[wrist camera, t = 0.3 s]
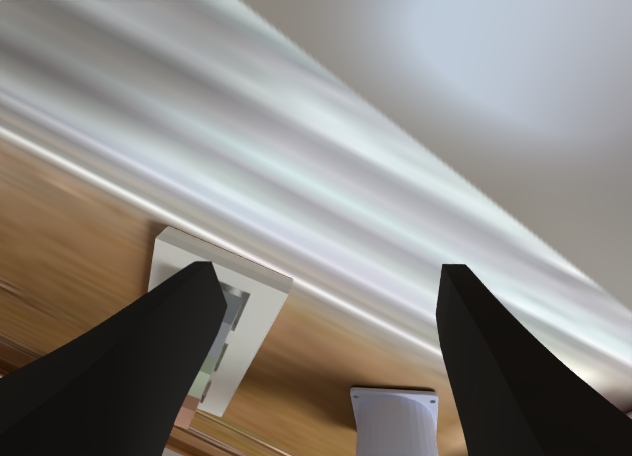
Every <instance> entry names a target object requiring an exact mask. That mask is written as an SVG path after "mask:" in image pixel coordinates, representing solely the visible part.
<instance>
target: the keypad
mask: <svg viewBox="0 0 632 456" xmlns="http://www.w3.org/2000/svg"><path fill="white" fill-rule="evenodd" d="M194 261H212V264H213V266H214V269H215V272H216V275H217V278H218V280H219V283H220V286H221V289H222V290H224V291H226V292H229V293H231V294H233V295H236V296H238V297H241V298H243V299H244V300H243V302H242V304H241V307H240V309H239V311H238V314H237V316H236V318H235V321H234V323H233V325H232V328H231V330H230V332H229V335H228V337H227V339H226V341H225V343H224V345H223V347H222V351H221V354H220V356H219V358H218V361H217V363H216V365H215V368H214V370H213V372H212V375H211V377H210V379H209V381H208V383H207V385H206V386H207V387H206V389H205V391H204V394H203V396H202V398H201V401H200V403H199V405H198V407H197V408H198V409H201V410H203V411H206V412H209V413H211V414H214V415H216V416H219V417H222V415H223V413H224V411H225V409H226V407H227V406H228V404H229V402H230V400H231V398H232V397H233V395H234V393H235V391H236V389H237V387H238V386H239V384H240V382H241V380H242V378H243V377H244V375H245V373H246V371H247V369H248V367H249V366H250V364H251V362H252V360H253V358H254V357H255V355H256V353H257V351H258V349H259V347H260V346H261V344H262V342H263V340H264V338H265V337H266V335H267V333H268V331H269V329H270V327H271V326H272V324H273V322H274V320H275V318H276V317H277V315H278V313H279V311H280V309H281V307H282V306H283V304H284V302H285V300H286V298H287V297H288V295H289V292H290V289H291V285H292V282H293V279H291V278H289V277H286V276H284V275H282V274H279V273H277V272H275V271H272V270H270V269H268V268H265V267H263V266H261V265H258V264H256V263H254V262H251V261H249V260H247V259H244V258H242V257H240V256H238V255H235V254H233V253H231V252H228V251H226V250H224V249H221V248H219V247H217V246H214V245H212V244H210V243H207V242H205V241H203V240H200V239H198V238H196V237H193V236H191V235H189V234H186V233H184V232H182V231H180V230H177V229H175V228H173V227H170V226H168V227H167V228H166V229H164V230H163V231H162V232H161V233H160V234H159V235H158V236H157V237H156V238H155V245H154V252H153V259H152V266H151V273H150V280H149V287H148V292H149V291H151V290H152V289H154V288H155V287H156V286H158V285H159V284H161V283H162V282H164V281H165V280H167V279H168V278H170V277H171V276H172V275H174V274H175V273H177V272H178V271H180V270H181V269H183V268H184V267H186V266H188V265H189V264H191V263H193V262H194Z"/></svg>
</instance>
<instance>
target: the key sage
mask: <svg viewBox="0 0 632 456" xmlns="http://www.w3.org/2000/svg"><path fill="white" fill-rule="evenodd" d="M221 351H222V349H221ZM221 351H220V353H219V356H220V354H221ZM219 356H218V358H219ZM218 358H215V357H212V356H210V355H207V357H206V359H205V361H204V363H203V365H202V367H201V369H200V371H199V373H198V375H197V377H196V379H195V380H194V382H193V384H192V386H191V388H190V390H189V392H188V395H191V396H193V397H196V398H198V399H200V398H201V396H202V394H203V392H204V390H205V387H206V385H207V383H208V381H209V379H210V377H211V375H212V372H213V370H214V368H215V365H216V363H217V361H218Z"/></svg>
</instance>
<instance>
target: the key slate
mask: <svg viewBox="0 0 632 456" xmlns="http://www.w3.org/2000/svg"><path fill="white" fill-rule="evenodd" d="M222 291H223V294H224V297H225V300H226V302H227V305H228V306H227V309H226V312H225V316H224V319H223V322H222V324H221V327H220V330H219V332H218V335H217V337H216V339H215V341H214V343H213V345H212V347H211V349H210V351H209V353H208V355H210V356H212V357H215V358H218V356H219V353H220V351H221V349H222V347H223V345H224V343H225V341H226V339H227V337H228V335H229V332H230V330H231V328H232V325H233V323H234V321H235V318H236V316H237V314H238V311H239V309H240V307H241V304H242V302H243V300H244V299H243V298H241V297H238V296H236V295H233V294H231V293H229V292H226V291H224V290H222Z"/></svg>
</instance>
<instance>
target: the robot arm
mask: <svg viewBox="0 0 632 456" xmlns="http://www.w3.org/2000/svg"><path fill="white" fill-rule="evenodd" d="M227 306H228V305H227V302H226V300H225V297H224V294H223V291H222V289H221V286H220V283H219V280H218V278H217V275H216V272H215V269H214V266H213V264H212V261H194V262H193V263H191V264H189V265H188V266H186V267H184V268H183V269H181V270H180V271H178V272H177V273H175V274H174V275H172V276H171V277H170V278H168V279H167V280H165V281H164V282H162V283H161V284H159V285H158V286H156V287H155V288H154V289H152V290H151V291H149V292H148V293H146V294H145V295H143V296H142V297H140V298H139V299H138V300H136V301H135V302H133V303H132V304H130V305H129V306H127V307H126V308H124V309H122V310H121V311H119V312H118V313H116V314H115V315H113V316H112V317H110V318H109V319H107V320H105V321H104V322H102V323H101V324H99V325H98V326H96V327H94V328H93V329H91V330H90V331H88V332H86V333H84V334H83V335H81V336H79V337H78V338H76V339H74V340H72V341H71V342H69V343H67V344H65V345H64V346H62V347H60V348H58V349H56V350H55V351H53V352H51V353H49V354H47V355H45V356H43V357H41V358H39V359H37V360H36V361H34V362H32V363H30V364H28V365H26V366H24V367H22V368H20V369H18V370H16V371H14V372H12V373H10V374H8V375H6V376H4V377H2V378H0V456H162V453H163V450H164V448H165V445H166V443H167V440H168V438H169V435H170V433H171V430H172V428H173V425H174V423H175V420H176V418H177V415H178V413H179V411H180V409H181V407H182V404H183V402H184V400H185V398H186V396H187V394H188V392H189V390H190V388H191V386H192V384H193V382H194V380H195V379H196V377H197V375H198V373H199V371H200V369H201V367H202V365H203V363H204V361H205V359H206V357H207V355H208V353H209V351H210V349H211V347H212V345H213V343H214V341H215V339H216V337H217V335H218V332H219V330H220V327H221V324H222V322H223V319H224V316H225V312H226V309H227ZM436 321H437V328H438V334H439V341H440V347H441V351H442V355H443V359H444V362H445V366H446V370H447V374H448V377H449V381H450V385H451V388H452V392H453V396H454V399H455V403H456V407H457V410H458V414H459V418H460V421H461V425H462V429H463V433H464V437H465V441H466V446H467V450H468V456H632V419H631V418H629V417H628V416H627V415H626V414H624V413H623V412H622V411H620V410H619V409H618V408H616V407H615V406H614V405H613V404H611V403H610V402H609V401H608V400H606V399H605V398H604V397H603V396H602V395H600V394H599V393H598V392H597V391H595V390H594V389H593V388H592V387H591V386H589V385H588V384H587V383H586V382H584V381H583V380H582V379H581V378H580V377H578V376H577V375H576V374H575V373H574V372H572V371H571V370H570V369H569V368H568V367H567V366H566V365H564V364H563V363H562V362H561V361H560V360H559V359H558V358H557V357H555V356H554V355H553V354H552V353H551V352H550V351H549V350H548V349H547V348H546V347H545V346H544V345H543V344H541V343H540V342H539V341H538V340H537V339H536V338H535V337H534V336H533V335H532V334H531V333H530V332H529V331H528V330H527V329H526V328H525V327H524V326H523V325H522V324H521V323H520V322H519V321H518V320H517V319H516V318H515V317H514V316H513V315H512V314H511V313H510V312H509V311H508V310H507V309H506V308H505V307H504V306H503V305H502V304H501V303H500V302H499V301H498V299H497V298H496V297H495V296H494V295H493V294H492V293H491V292H490V291H489V290H488V289H487V288H486V286H485V285H484V284H483V283H482V282H481V281H480V280H479V279H478V277H477V276H476V275H475V274H474V273H473V272H472V271H471V270H470V269H469V267H467V266H466V265H465V264H442V270H441V278H440V285H439V293H438V300H437V308H436ZM350 395H351V401H352V406H353V411H354V416H355V421H356V426H357V442H356V456H439V455H438V449H437V442H436V429H437V414H438V399H439V398H438V394H437V393H436V392H431V391H413V390H395V389H377V388H359V387H353V388H351V389H350Z"/></svg>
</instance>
